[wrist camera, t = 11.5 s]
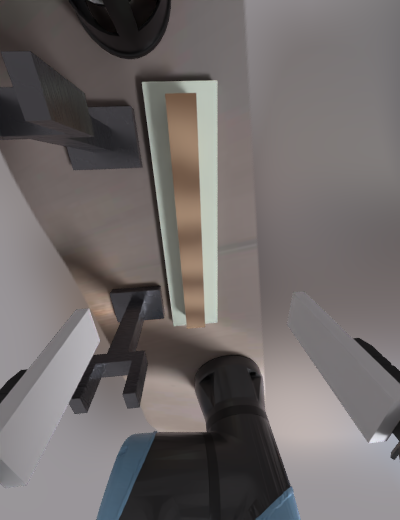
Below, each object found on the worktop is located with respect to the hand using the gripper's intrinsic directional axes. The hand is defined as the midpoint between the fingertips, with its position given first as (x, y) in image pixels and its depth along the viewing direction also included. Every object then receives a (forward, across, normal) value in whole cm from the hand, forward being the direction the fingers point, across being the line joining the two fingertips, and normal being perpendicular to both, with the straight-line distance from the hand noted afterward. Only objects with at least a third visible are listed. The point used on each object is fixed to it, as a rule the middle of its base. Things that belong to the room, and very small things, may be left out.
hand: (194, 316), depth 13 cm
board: (+18, 0, -1) cm, 18 cm away
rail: (+17, 0, -1) cm, 17 cm away
